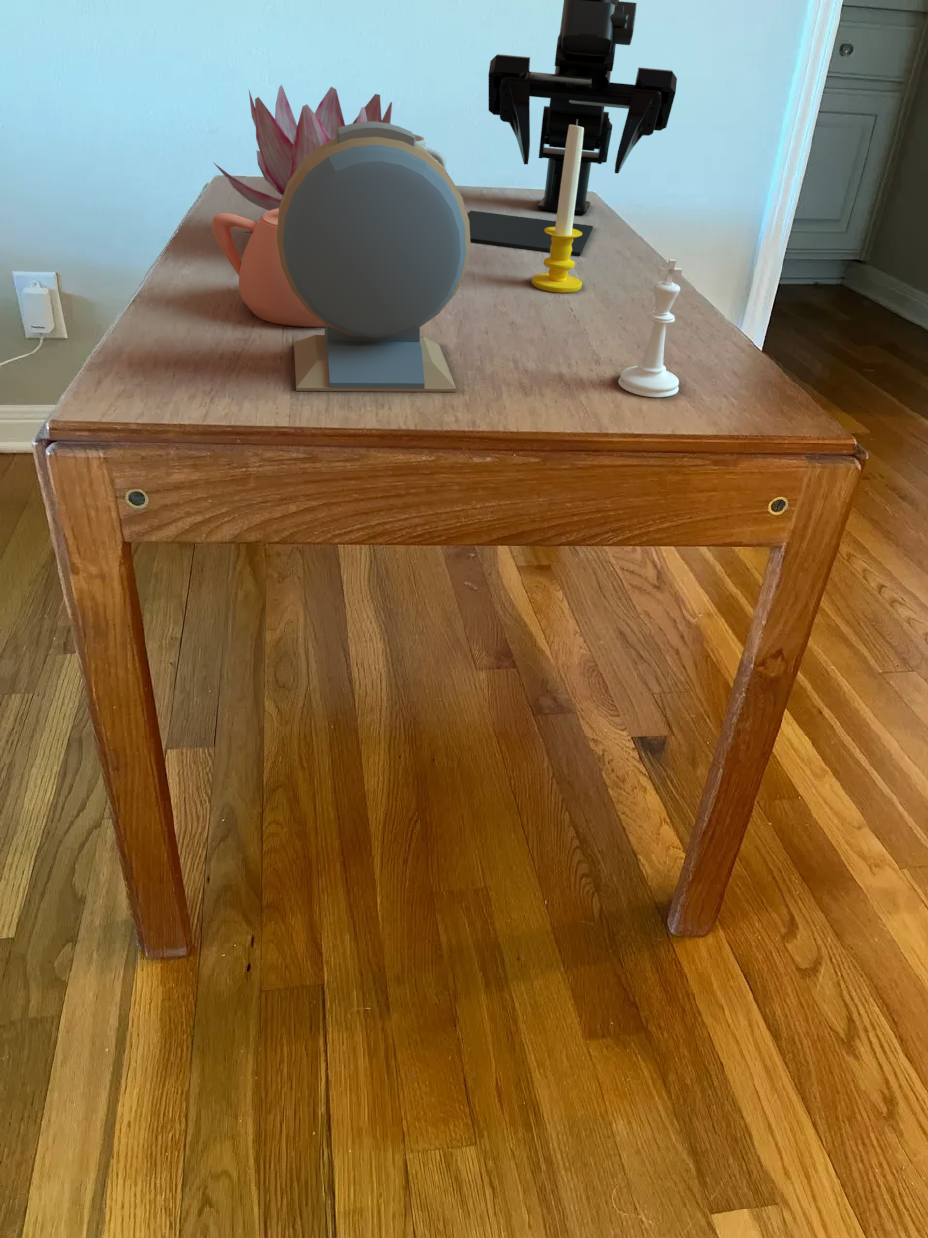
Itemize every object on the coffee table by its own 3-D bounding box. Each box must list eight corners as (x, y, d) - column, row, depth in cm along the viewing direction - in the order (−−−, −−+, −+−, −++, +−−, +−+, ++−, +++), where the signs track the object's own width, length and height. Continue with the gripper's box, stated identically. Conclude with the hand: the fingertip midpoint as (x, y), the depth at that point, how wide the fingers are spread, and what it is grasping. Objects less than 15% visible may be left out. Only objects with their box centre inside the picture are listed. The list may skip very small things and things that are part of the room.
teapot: (231, 282, 92) (223, 176, 86) (416, 296, 93) (420, 192, 87) (202, 323, 82) (192, 206, 77) (410, 338, 83) (415, 223, 77)
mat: (470, 213, 123) (470, 210, 123) (592, 228, 121) (593, 225, 121) (445, 238, 112) (445, 234, 111) (580, 255, 110) (580, 252, 109)
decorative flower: (182, 258, 97) (166, 92, 89) (280, 217, 114) (274, 74, 106) (374, 292, 93) (377, 120, 84) (447, 244, 109) (456, 96, 101)
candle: (548, 274, 102) (567, 112, 93) (590, 285, 100) (614, 120, 91) (522, 284, 99) (539, 116, 90) (565, 296, 96) (587, 125, 87)
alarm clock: (450, 347, 82) (465, 117, 71) (469, 391, 74) (488, 140, 64) (281, 345, 79) (272, 106, 69) (282, 390, 71) (271, 129, 61)
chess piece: (612, 373, 79) (633, 249, 74) (669, 375, 80) (694, 252, 74) (625, 396, 75) (648, 267, 70) (685, 398, 76) (713, 270, 70)
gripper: (499, -45, 91) (478, 100, 88) (694, -27, 90) (680, 119, 87) (498, 45, 102) (479, 176, 99) (672, 62, 101) (658, 194, 98)
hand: (571, 165), depth 95 cm, fingers open, 9 cm apart
